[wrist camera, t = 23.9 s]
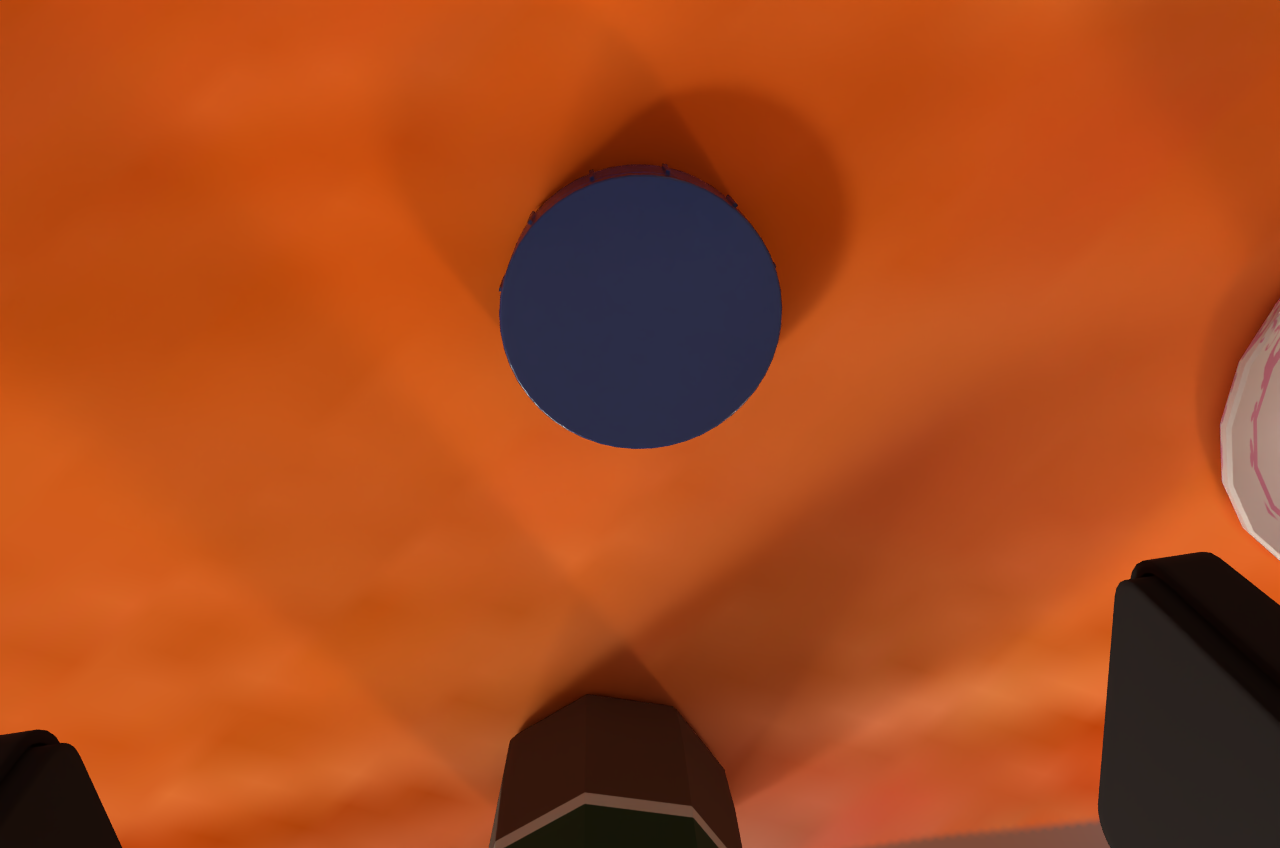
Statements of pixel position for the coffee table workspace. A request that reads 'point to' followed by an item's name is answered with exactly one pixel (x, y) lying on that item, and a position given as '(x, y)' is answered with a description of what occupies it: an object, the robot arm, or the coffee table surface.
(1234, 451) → the teacup
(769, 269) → the jar lid
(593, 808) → the beer bottle
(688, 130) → the coffee table surface
